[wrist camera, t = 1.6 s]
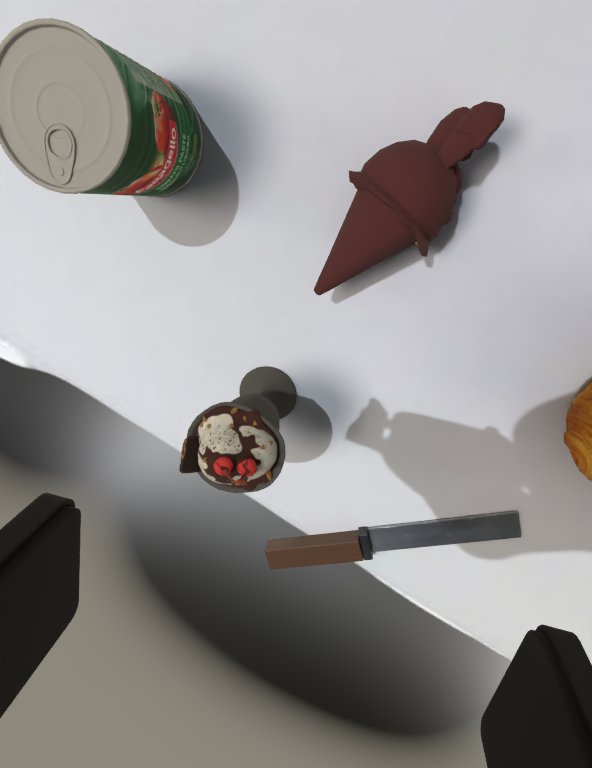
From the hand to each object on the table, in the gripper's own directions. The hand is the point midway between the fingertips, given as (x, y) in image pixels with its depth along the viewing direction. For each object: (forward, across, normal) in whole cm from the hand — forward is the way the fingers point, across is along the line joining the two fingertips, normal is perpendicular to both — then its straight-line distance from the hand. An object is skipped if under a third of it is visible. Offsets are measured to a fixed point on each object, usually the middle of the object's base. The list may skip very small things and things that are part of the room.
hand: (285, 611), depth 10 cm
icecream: (+29, -1, -8) cm, 30 cm away
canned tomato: (+29, +17, -10) cm, 35 cm away
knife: (+29, -9, +19) cm, 36 cm away
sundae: (+29, +5, +8) cm, 31 cm away
